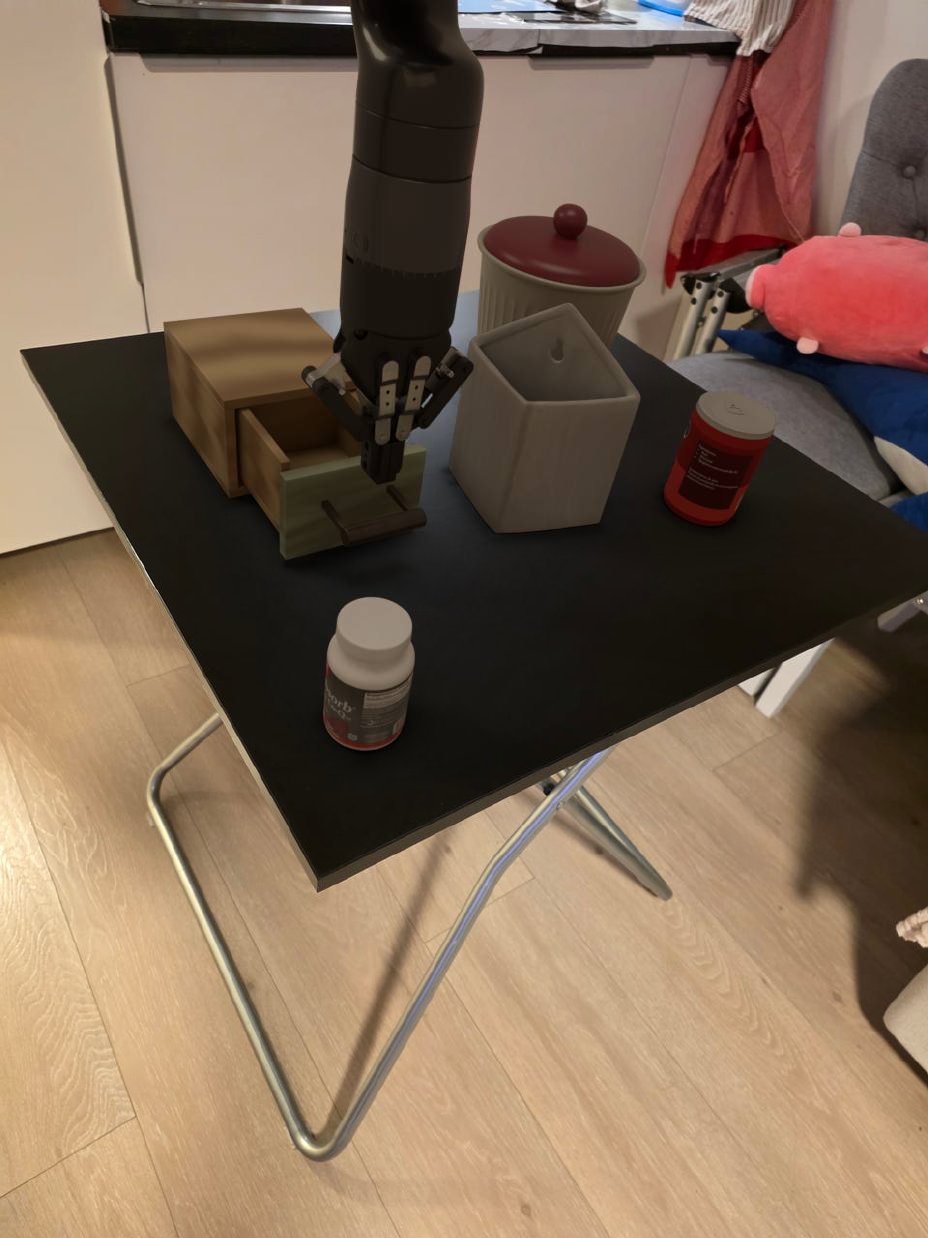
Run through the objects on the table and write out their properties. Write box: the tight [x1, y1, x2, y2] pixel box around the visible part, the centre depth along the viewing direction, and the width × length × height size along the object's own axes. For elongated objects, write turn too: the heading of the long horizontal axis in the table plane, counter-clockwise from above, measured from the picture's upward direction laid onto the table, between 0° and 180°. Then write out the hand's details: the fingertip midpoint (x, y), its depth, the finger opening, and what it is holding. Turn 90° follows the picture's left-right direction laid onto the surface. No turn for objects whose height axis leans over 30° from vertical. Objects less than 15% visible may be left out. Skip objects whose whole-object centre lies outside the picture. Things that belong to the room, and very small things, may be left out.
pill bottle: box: [322, 596, 416, 751], centre depth 53 cm, size 6×6×10 cm
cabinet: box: [162, 307, 357, 499], centre depth 76 cm, size 15×14×10 cm
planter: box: [447, 303, 641, 534], centre depth 71 cm, size 16×8×19 cm, turn 67°
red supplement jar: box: [663, 390, 778, 527], centre depth 80 cm, size 8×8×11 cm
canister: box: [476, 203, 648, 361], centre depth 88 cm, size 18×18×21 cm
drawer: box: [235, 389, 428, 561], centre depth 69 cm, size 19×13×8 cm, turn 33°
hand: (379, 477), depth 61 cm, fingers closed
